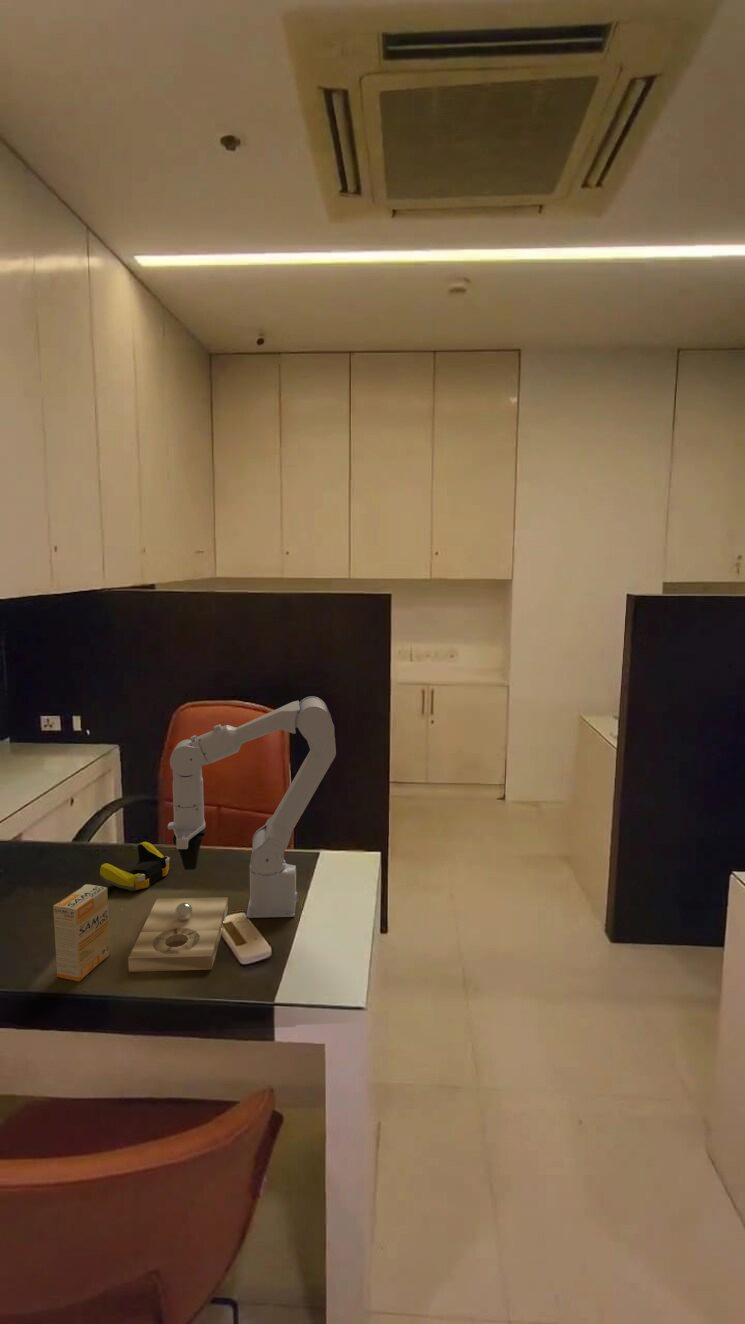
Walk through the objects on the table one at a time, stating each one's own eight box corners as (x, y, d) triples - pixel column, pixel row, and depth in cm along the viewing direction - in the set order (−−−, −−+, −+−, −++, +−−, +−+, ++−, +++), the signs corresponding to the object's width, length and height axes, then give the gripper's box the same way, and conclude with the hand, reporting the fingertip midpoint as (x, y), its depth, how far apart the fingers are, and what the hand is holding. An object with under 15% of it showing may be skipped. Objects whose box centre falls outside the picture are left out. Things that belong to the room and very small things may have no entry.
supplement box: (80, 983, 112) (76, 910, 110) (56, 977, 114) (51, 905, 112) (112, 955, 120) (108, 886, 118) (89, 950, 121) (85, 882, 119)
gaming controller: (95, 890, 143) (133, 899, 139) (94, 865, 142) (132, 874, 138) (144, 860, 157) (179, 868, 153) (143, 838, 156) (178, 846, 152)
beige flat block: (157, 910, 135) (156, 898, 135) (228, 908, 136) (227, 897, 136) (128, 971, 116) (128, 958, 115) (211, 969, 117) (211, 956, 116)
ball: (194, 914, 129) (194, 899, 129) (191, 923, 126) (190, 907, 125) (177, 915, 129) (177, 899, 128) (173, 924, 126) (173, 908, 125)
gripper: (175, 789, 138) (177, 852, 140) (158, 817, 124) (161, 886, 126) (210, 789, 138) (212, 851, 141) (197, 816, 124) (199, 885, 126)
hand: (190, 868), depth 133 cm, fingers closed
